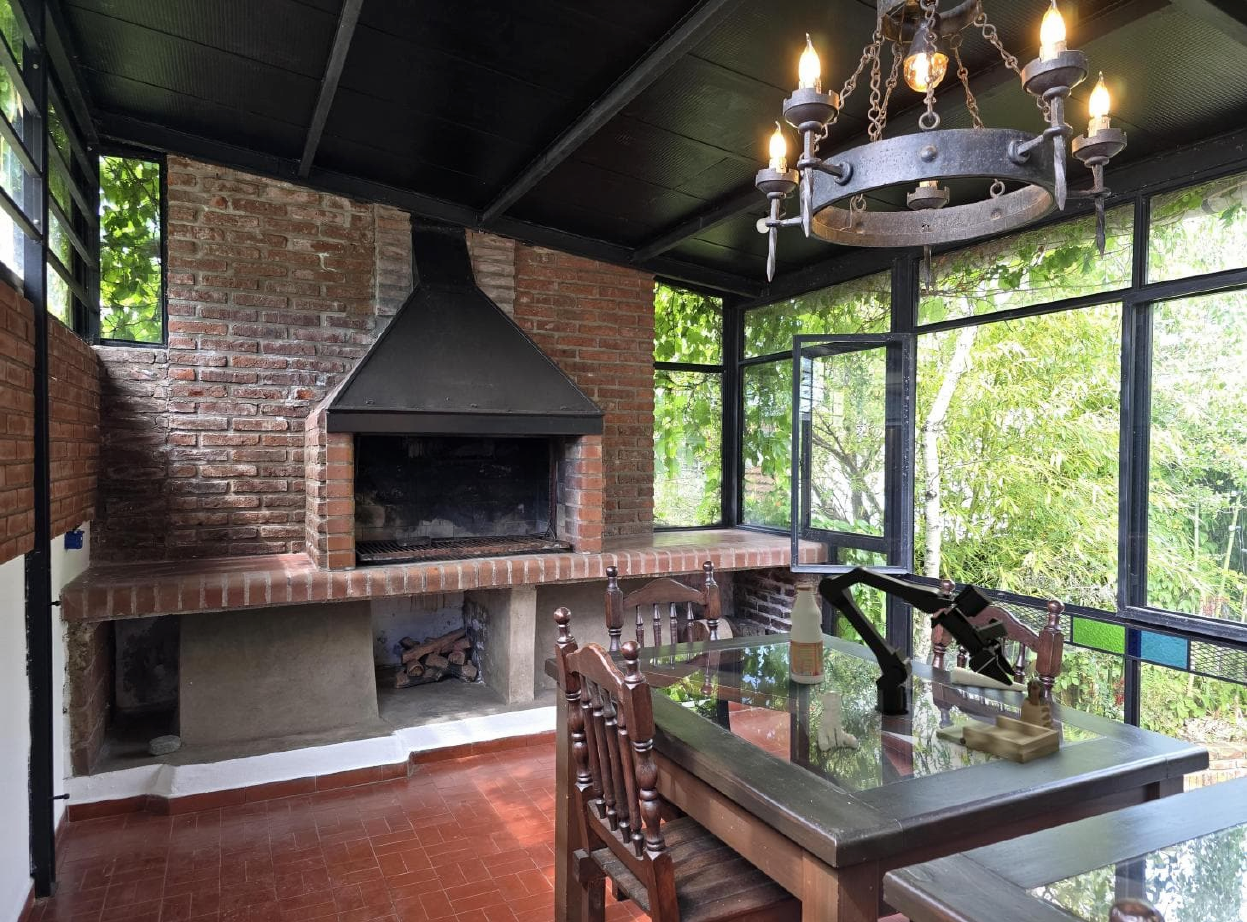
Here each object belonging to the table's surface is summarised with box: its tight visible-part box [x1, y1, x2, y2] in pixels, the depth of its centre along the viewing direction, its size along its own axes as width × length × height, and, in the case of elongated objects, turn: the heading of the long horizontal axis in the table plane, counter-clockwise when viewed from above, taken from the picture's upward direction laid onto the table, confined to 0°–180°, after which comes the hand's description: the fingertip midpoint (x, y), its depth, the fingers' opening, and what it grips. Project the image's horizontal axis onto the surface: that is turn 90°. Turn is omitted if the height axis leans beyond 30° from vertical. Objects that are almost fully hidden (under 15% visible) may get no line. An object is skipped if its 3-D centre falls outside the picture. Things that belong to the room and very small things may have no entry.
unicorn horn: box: [951, 666, 1028, 693], centre depth 219 cm, size 5×24×5 cm, turn 54°
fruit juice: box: [789, 584, 825, 685], centre depth 231 cm, size 9×9×28 cm
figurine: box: [1019, 679, 1055, 730], centre depth 184 cm, size 7×7×12 cm
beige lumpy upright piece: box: [816, 689, 860, 752], centre depth 179 cm, size 10×9×12 cm
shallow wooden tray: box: [935, 714, 1060, 765], centre depth 177 cm, size 21×14×4 cm
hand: (1013, 679), depth 187 cm, fingers open, 9 cm apart
